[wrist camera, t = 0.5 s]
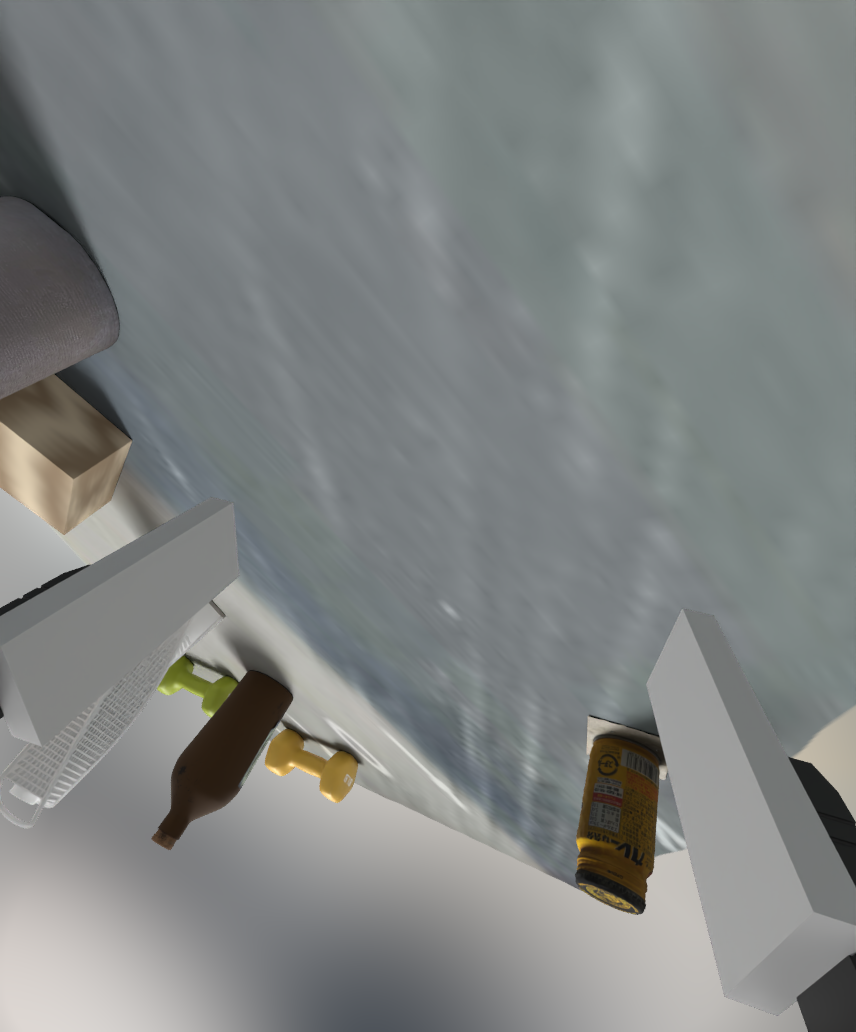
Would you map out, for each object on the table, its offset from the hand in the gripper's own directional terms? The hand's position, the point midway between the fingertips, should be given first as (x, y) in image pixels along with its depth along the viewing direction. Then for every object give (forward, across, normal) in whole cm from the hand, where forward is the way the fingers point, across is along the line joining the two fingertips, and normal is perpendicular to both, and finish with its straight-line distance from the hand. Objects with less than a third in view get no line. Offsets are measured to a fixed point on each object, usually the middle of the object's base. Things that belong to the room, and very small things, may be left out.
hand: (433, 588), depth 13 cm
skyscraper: (+33, -37, -35) cm, 61 cm away
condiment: (+22, +18, -28) cm, 40 cm away
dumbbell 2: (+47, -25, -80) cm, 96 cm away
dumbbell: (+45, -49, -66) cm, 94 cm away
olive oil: (+40, -32, -58) cm, 77 cm away
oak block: (+24, -44, -8) cm, 51 cm away
